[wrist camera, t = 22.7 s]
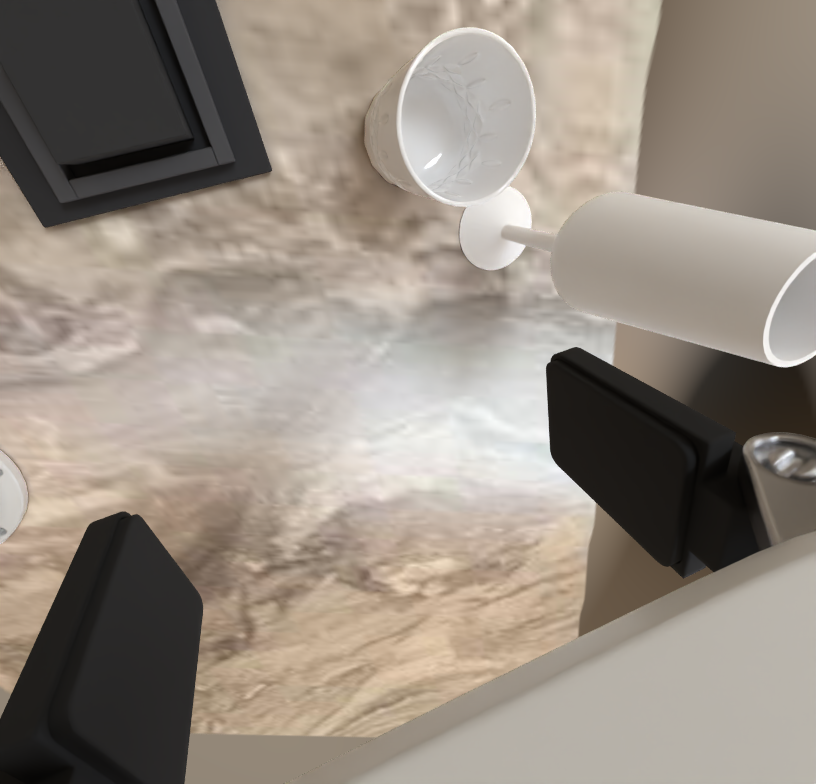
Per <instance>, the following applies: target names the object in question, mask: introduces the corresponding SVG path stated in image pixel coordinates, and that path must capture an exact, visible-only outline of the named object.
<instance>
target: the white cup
mask: <svg viewBox="0 0 816 784" xmlns="http://www.w3.org/2000/svg"><path fill="white" fill-rule="evenodd" d="M535 123H536V103H535V95H534V90H533V85H532V82H531V79H530V76H529V73H528V71H527V69H526V67H525V65H524V63H523V61H522V59H521V58H520V56H519V55H518V53H517V52H516V51H515V50H514V49H513V47H512V46H511V45H510V44H509V43H508V42H506V41H505V40H504V39H503V38H501V37H500V36H498V35H496V34H494V33H492V32H490V31H488V30H484V29H481V28H474V27H464V28H458V29H454V30H450V31H448V32H445V33H443V34H441V35H440V36H438V37H436V38H435V39H434V40H432V41H431V42H430V43H428V44H427V45H426V46H425V47H424V48H423V49H422V50H421V51H420V52H418V53H417V54H416V55H415V56H414V57H413V58H412V59H411V60H409V61H408V62H407V63H406V64H405V65H404V66H402V67H401V68H400V69H399V70H398V72H397V73H396V74H395V75H394V76H393V77H392V78H391V79H390V80H389V81H388V82H387V83H386V84H385V86H384V87H383V89H382V90H381V91H380V92H378V93H377V94H376V95H375V97H374V99H373V102H372V104H371V106H370V108H369V110H368V112H367V115H366V117H365V134H364V144H365V147H366V150H367V152H368V155H369V158H370V161H371V164H372V166H373V167H374V168H375V169H376V170H377V171H378V173H379V174H380V175H381V176H382V177H383V178H384V179H385V180H386V181H387V182H388V183H391V184H394V185H396V186H399V187H400V188H402V189H403V190H405V191H408V192H410V193H413V194H416V195H419V196H422V197H425V198H428V199H432V200H435V201H438V202H441V203H444V204H447V205H451V206H457V207H469V206H475V205H479V204H482V203H485V202H487V201H489V200H491V199H493V198H494V197H496V196H497V195H499V194H500V193H501V192H503V191H504V190H505V189H506V188H507V187H508V186H509V185H510V184H511V183H512V182H513V180H514V179H515V178H516V176H517V175H518V173H519V172H520V170H521V169H522V167H523V165H524V163H525V161H526V159H527V156H528V154H529V151H530V148H531V145H532V141H533V137H534V132H535Z"/></svg>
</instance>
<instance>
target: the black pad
mask: <svg viewBox="0 0 816 784" xmlns="http://www.w3.org/2000/svg"><path fill="white" fill-rule="evenodd" d="M0 64H1V66H2V67H3V69H4V71H5V73H6V75H7V76H8V78H9V80H10V82H11V83H12V85H13V87H14V89H15V91H16V92H17V94H18V96H19V98H20V99H21V101H22V103H23V105H24V107H25V108H26V110H27V112H28V114H29V115H30V117H31V119H32V121H33V123H34V124H35V126H36V128H37V130H38V132H39V133H40V135H41V137H42V139H43V140H44V142H45V144H46V146H47V148H48V149H49V151H50V153H51V155H52V156H53V158H54V160H55V162H56V163H57V164H70V165H85V164H89V163H94V162H98V161H102V160H107V159H111V158H115V157H120V156H124V155H128V154H133V153H137V152H141V151H146V150H150V149H154V148H159V147H163V146H167V145H172V144H176V143H180V142H185V141H189V140H193V139H194V136H193V133H192V131H191V128H190V126H189V123H188V121H187V118H186V116H185V113H184V111H183V108H182V106H181V103H180V101H179V98H178V96H177V93H176V91H175V89H174V86H173V84H172V81H171V79H170V76H169V74H168V71H167V69H166V66H165V64H164V61H163V59H162V56H161V54H160V51H159V49H158V46H157V44H156V41H155V39H154V37H153V34H152V32H151V29H150V27H149V24H148V22H147V19H146V17H145V14H144V12H143V9H142V7H141V4H140V2H139V0H0Z"/></svg>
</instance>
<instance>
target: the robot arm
mask: <svg viewBox="0 0 816 784" xmlns="http://www.w3.org/2000/svg"><path fill="white" fill-rule="evenodd" d="M546 378H547V397H548V417H549V436H550V452H551V455H552V458H553V460H554V461H555V463H556V464H557V465H558V466H559V467H560V468H561V469H562V470H563V471H564V472H565V473H566V474H567V475H568V476H569V477H570V478H571V479H572V480H573V481H574V482H575V483H577V484H578V485H579V486H580V487H581V488H582V489H583V490H584V491H585V492H586V493H587V494H588V495H589V496H590V497H591V498H592V499H593V500H594V501H595V502H596V503H597V504H598V505H599V506H600V507H601V508H602V509H603V510H604V511H606V512H607V513H608V514H609V515H610V516H611V517H612V518H613V519H614V520H615V521H616V522H617V523H618V524H619V525H620V526H621V527H622V528H623V529H624V530H625V531H626V532H627V533H628V534H630V536H631V537H633V538H634V539H635V540H636V541H637V542H638V543H639V544H640V545H641V546H642V547H643V548H644V549H645V550H646V551H647V552H648V553H649V554H650V555H651V556H652V557H653V558H654V559H655V560H656V561H657V562H659V563H660V564H661V565H663V566H667V567H668V566H671V567H672V568H673V569H674V570H675V571H676V572H677V573H678V574H679V575H680V576H681V577H682V578H685V577H688V576H690V575H692V574H694V573H696V572H698V571H700V570H702V569H704V568H705V567H706V566H707V567H708V568H710V569H711V570H712V571H713V572H714V573H712V574H710V575H708V576H705V577H703V578H701V579H699V580H697V581H694V582H692V583H690V584H688V585H686V586H684V587H682V588H679V589H677V590H675V591H673V592H671V593H669V594H667V595H665V596H663V597H661V598H659V599H657V600H655V601H653V602H651V603H649V604H647V605H645V606H643V607H640V608H638V609H636V610H634V611H632V612H630V613H628V614H626V615H624V616H622V617H620V618H618V619H616V620H614V621H612V622H610V623H608V624H606V625H604V626H602V627H600V628H598V629H595V630H593V631H591V632H589V633H587V634H585V635H583V636H581V637H579V638H577V639H575V640H573V641H571V642H569V643H567V644H565V645H563V646H560V647H558V648H556V649H554V650H552V651H550V652H548V653H546V654H544V655H542V656H540V657H538V658H536V659H534V660H532V661H530V662H528V663H526V664H524V665H522V666H520V667H518V668H516V669H514V670H512V671H510V672H508V673H506V674H504V675H502V676H500V677H498V678H496V679H494V680H492V681H489V682H487V683H485V684H483V685H481V686H479V687H477V688H475V689H473V690H471V691H469V692H467V693H465V694H463V695H461V696H459V697H457V698H455V699H453V700H451V701H449V702H447V703H445V704H443V705H441V706H439V707H437V708H435V709H433V710H431V711H429V712H427V713H425V714H423V715H421V716H419V717H417V718H415V719H413V720H411V721H409V722H407V723H405V724H403V725H401V726H399V727H397V728H395V729H392V730H390V731H388V732H386V733H384V734H382V735H380V736H378V737H376V738H374V739H372V740H370V741H368V742H366V743H364V744H362V745H361V746H358V747H357V748H354V749H352V750H350V751H348V752H347V753H344V754H343V755H341V756H338V757H337V758H334V759H332V760H330V761H328V762H326V763H324V764H323V765H321V766H319V767H316V768H315V769H312V770H310V771H308V772H307V773H304V774H302V775H301V776H298V777H297V778H295V779H293V780H291V781H289V782H287V783H285V784H816V439H814V438H810V437H807V436H803V435H799V434H791V433H766V434H761V435H757V436H755V437H753V438H751V439H749V440H748V441H747V442H746V444H745V445H744V446H742V445H740V444H738V443H737V442H735V441H734V439H735V435H736V433H735V432H734V431H732V430H730V429H728V428H726V427H725V426H723V425H721V424H719V423H717V422H715V421H713V420H712V419H710V418H708V417H706V416H704V415H702V414H701V413H699V412H697V411H695V410H693V409H691V408H690V407H688V406H686V405H684V404H682V403H680V402H678V401H677V400H675V399H673V398H671V397H669V396H667V395H666V394H664V393H662V392H660V391H658V390H656V389H655V388H653V387H651V386H649V385H647V384H645V383H644V382H642V381H640V380H638V379H636V378H634V377H632V376H630V375H629V374H627V373H625V372H623V371H621V370H620V369H618V368H616V367H614V366H612V365H610V364H609V363H607V362H605V361H603V360H601V359H599V358H597V357H596V356H594V355H592V354H590V353H588V352H586V351H585V350H583V349H581V348H578V347H574V348H571V349H568V350H565V351H563V352H560V353H557V354H554V355H553V356H552V358H551V362H550V363H548V364H547V366H546ZM27 505H28V491H27V485H26V482H25V480H24V478H23V476H22V474H21V472H20V470H19V469H18V467H17V466H16V465H15V464H14V462H13V461H12V460H11V459H10V458H9V457H8V456H7V455H6V454H5V453H3V452H2V451H1V450H0V544H2V543H3V542H4V541H5V540H6V539H7V538H8V537H9V536H10V535H11V534H12V533H13V532H14V531H15V530H16V528H17V527H18V525H19V524H20V522H21V521H22V519H23V516H24V514H25V512H26V510H27ZM202 616H203V603H202V599H201V597H200V594H199V593H198V591H197V590H196V589H195V587H194V586H193V585H192V583H191V582H190V581H189V579H188V578H187V577H186V575H185V574H184V573H183V571H182V570H181V569H180V567H179V566H178V565H177V563H176V562H175V561H174V559H173V558H172V557H171V555H170V554H169V553H168V551H167V550H166V549H165V547H164V546H163V545H162V544H161V542H160V541H159V540H158V538H157V537H156V536H155V534H154V533H153V532H152V530H151V529H150V528H149V526H148V525H147V524H146V522H145V521H144V520H143V518H142V517H141V516H139V515H137V514H135V515H132V516H131V515H130V514H129V513H127V512H119V513H116V514H114V515H111V516H108V517H105V518H103V519H100V520H97V521H94V522H92V523H91V524H90V525H89V526H88V528H87V530H86V532H85V534H84V536H83V538H82V541H81V543H80V545H79V547H78V549H77V552H76V554H75V556H74V558H73V560H72V562H71V565H70V567H69V569H68V571H67V573H66V576H65V578H64V580H63V582H62V584H61V587H60V589H59V591H58V593H57V595H56V598H55V600H54V602H53V604H52V606H51V609H50V611H49V613H48V615H47V617H46V620H45V622H44V624H43V626H42V628H41V631H40V633H39V635H38V637H37V639H36V641H35V644H34V646H33V648H32V650H31V652H30V655H29V657H28V659H27V661H26V663H25V666H24V668H23V670H22V672H21V674H20V677H19V679H18V681H17V683H16V685H15V688H14V690H13V692H12V694H11V696H10V699H9V701H8V703H7V705H6V707H5V710H4V712H3V714H2V716H1V718H0V784H184V782H185V773H186V763H187V755H188V745H189V736H190V727H191V717H192V708H193V699H194V690H195V680H196V671H197V662H198V653H199V643H200V634H201V625H202Z"/></svg>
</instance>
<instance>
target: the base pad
mask: <svg viewBox="0 0 816 784" xmlns="http://www.w3.org/2000/svg"><path fill="white" fill-rule="evenodd" d="M139 2H140V4H141V7H142V9H143V12H144V14H145V17H146V19H147V22H148V24H149V27H150V29H151V32H152V34H153V37H154V39H155V41H156V44H157V46H158V49H159V51H160V54H161V56H162V59H163V61H164V64H165V66H166V69H167V71H168V74H169V76H170V79H171V81H172V84H173V86H174V89H175V91H176V93H177V96H178V98H179V101H180V103H181V106H182V108H183V111H184V113H185V116H186V118H187V121H188V123H189V126H190V128H191V131H192V133H193V136H194V139H193V140H189V141H185V142H180V143H176V144H172V145H167V146H163V147H159V148H154V149H150V150H146V151H141V152H137V153H133V154H128V155H124V156H120V157H115V158H111V159H107V160H102V161H98V162H94V163H89V164H85V165H70V164H57V163H56V162H55V160H54V158H53V156H52V155H51V153H50V151H49V149H48V148H47V146H46V144H45V142H44V140H43V139H42V137H41V135H40V133H39V132H38V130H37V128H36V126H35V124H34V123H33V121H32V119H31V117H30V115H29V114H28V112H27V110H26V108H25V107H24V105H23V103H22V101H21V99H20V98H19V96H18V94H17V92H16V91H15V89H14V87H13V85H12V83H11V82H10V80H9V78H8V76H7V75H6V73H5V71H4V69H3V67H2V66H1V64H0V157H1V158H2V160H3V161H4V163H5V165H6V166H7V168H8V170H9V171H10V173H11V174H12V176H13V178H14V179H15V181H16V183H17V184H18V186H19V187H20V189H21V191H22V192H23V194H24V196H25V197H26V199H27V200H28V202H29V204H30V205H31V207H32V209H33V210H34V212H35V213H36V215H37V217H38V218H39V220H40V222H41V223H42V225H43V226H44V227H50V226H54V225H58V224H62V223H66V222H70V221H74V220H78V219H82V218H86V217H90V216H94V215H98V214H102V213H106V212H110V211H114V210H118V209H122V208H126V207H130V206H134V205H138V204H142V203H146V202H150V201H154V200H158V199H162V198H166V197H170V196H174V195H178V194H182V193H186V192H190V191H194V190H198V189H202V188H206V187H210V186H214V185H218V184H222V183H226V182H230V181H234V180H238V179H242V178H246V177H250V176H254V175H258V174H262V173H266V172H270V171H272V168H271V165H270V162H269V159H268V156H267V153H266V150H265V147H264V144H263V141H262V138H261V135H260V132H259V129H258V126H257V123H256V120H255V117H254V114H253V111H252V108H251V105H250V102H249V99H248V96H247V93H246V90H245V87H244V84H243V81H242V78H241V75H240V72H239V70H238V67H237V64H236V61H235V58H234V55H233V52H232V49H231V46H230V43H229V40H228V37H227V34H226V31H225V28H224V25H223V22H222V19H221V16H220V13H219V10H218V7H217V4H216V1H215V0H139Z"/></svg>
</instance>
